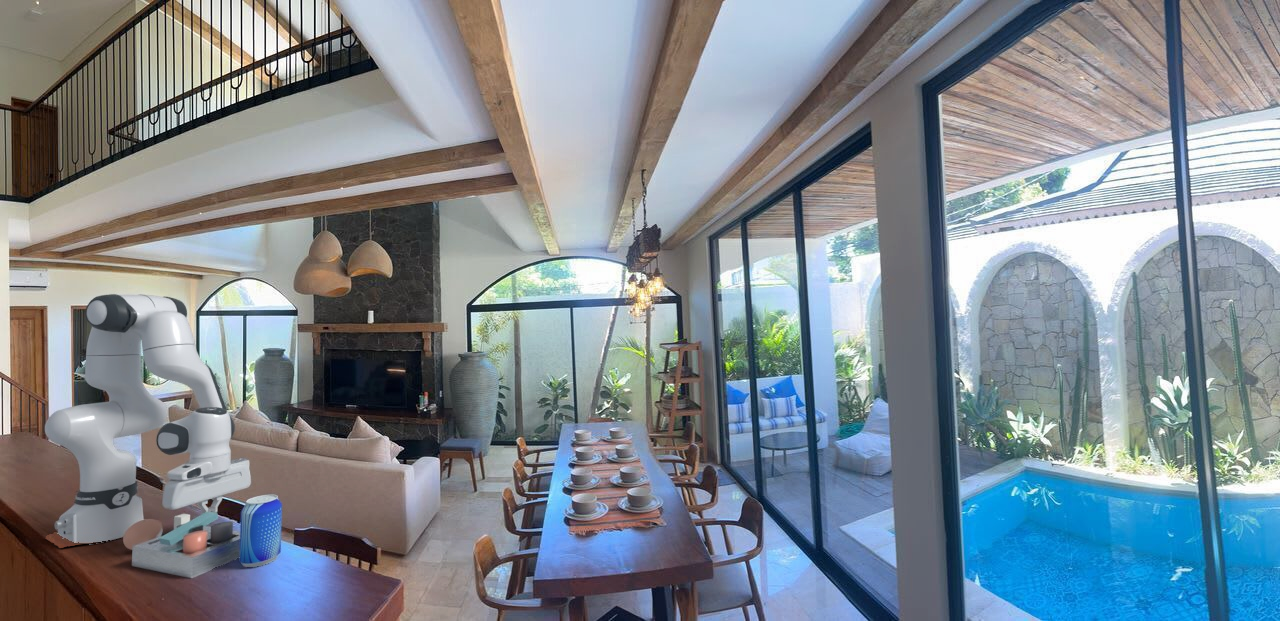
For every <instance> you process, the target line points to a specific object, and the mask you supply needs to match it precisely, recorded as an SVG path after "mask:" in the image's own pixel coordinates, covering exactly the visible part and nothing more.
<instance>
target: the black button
mask: <svg viewBox="0 0 1280 621" xmlns="http://www.w3.org/2000/svg"><path fill="white" fill-rule="evenodd" d="M210 527H211V539H210V543H214V544H219V543H221V542H224V541H227V540H229V539H232V537H233V528H234V522H233V521H222V522H218V523H216V524H213V525H211V526H210Z"/></svg>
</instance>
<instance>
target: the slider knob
mask: <svg viewBox="0 0 1280 621" xmlns="http://www.w3.org/2000/svg"><path fill="white" fill-rule="evenodd" d="M173 518H174V519H173V530H174V529H176V528H177V526H178V525H182V524H185V523H187V522H189V521H191V514H188V513H181V514H177V515H175V516H173Z"/></svg>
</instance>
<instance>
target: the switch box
mask: <svg viewBox="0 0 1280 621" xmlns="http://www.w3.org/2000/svg"><path fill="white" fill-rule="evenodd" d="M182 525H184V524H182ZM182 525H178V526H177V528H178V527H180V526H182ZM196 531H207V548H206V549H203V550H200V551H198V552H195V553H193V554H190V555H189V554H184V553H183V539H182V540H180V541H178V542H177V543H175V544H173V545H171V546H170V545H165V544H160V541H159V538H160V537H158V538H155V539H152V540H149V541H146V542H143V543H140V544H137V545H134V546H133V547H132V550H131V551H132V552H131V566H132V567H136V568H141V569H145V570H150V571H154V572H155V571H156V572H160V573H164V574H169V575H173V576H174V575H175V576H178V577H179V576H180V577H184V578H187V579H193V578H196V577H198V576H200V575H203V574H206V573H208V572H210V571H212V569H213V568H215V567H217V568H219V567H218V566H220V567H222V566H224V565H226V563H227V564H229V563H231V562H234V561H236V560H238V559H237V558H239V557H240V531H239V530H233V537H232V539H229V540H227V541H224V542H221V543H219V544H214V543H210V539H211V526H210V525H206V526H205V527H203V525H199V526H196V527H193V528H191V530H190V533H192V532H196ZM162 536H163V535H161V537H162ZM235 559H236V560H235ZM233 560H234V561H233ZM230 561H231V562H230ZM228 562H229V563H228ZM223 564H224V565H223ZM221 565H222V566H221ZM215 569H216V568H215ZM213 570H214V569H213Z"/></svg>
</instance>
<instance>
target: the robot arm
mask: <svg viewBox="0 0 1280 621" xmlns="http://www.w3.org/2000/svg"><path fill="white" fill-rule="evenodd" d="M84 312H85V313H84V314H85V318H86V322H87V323H88V324H89V325H90V327H91V329H90V333H89V335H88V339H87V344H86V350H85V351H86V353H85V367H84V368H85V369H84V370H85V371H84V380H85V381H86V383H87V384H88V385H90V387H93V388H96V389H98V390H102V391H105V392H106V393H107V395H108V398H109V399H108V400H109V401H103V402H94V403H87V404H86V403H85V404H79V405H78V404H77V405H73V406H69V407H66V408H62V409H58V410H56V411H54V412H53V413H52V414H51V415H50V416H49V417H48V418H47V420H46V422H45V424H44V434H45V435H46V437H47V439H49V440H50V442H52V443H54V444H55V445H56V444H57V445H59V446H61V447H64V448H65V449H67V450H68V451H69V452H71V453H72V454H73V456H74V457H75V459H76V460H77V463H78V467H79V490H76V491H75V493H76V494H75V498H74V504H73V505H72V506H70V508H69V509H67V510H66V511H65V512H63V513H62V514H61V515H60V516H59V518H58V520H56V521H55V522H54V529H55V530H57V531H58V533H57V534H59V535H60V536H62V537H63V538H62V539H64V538H66V539H68V540H69V541H72V542H74V543H78V542H79V543H93V542H101V543H103V542H102V541H106V542H109V541H108V540H110V541H112V540H116V539H117V540H118V539H120V538H121V539H122V538H123V537H124V534H125V532H126V531H127V529H128V528H129V527H130V526H132V525H133V524H135V523H136V522H138V521H141V520H145V519H146V518H144V509H143V499H142V498H141V497H140V496H137V494H138V490H139V485H138V481H137V479H136V477H137V458H136V456H135V455H134V453H132V452H131V451H127V450H124V449H119V448H116V446H115V444H114V439H117V438H123V437H129V436H136V435H141V434H144V433H148V432H151V431H153V430H156V429H159V428H160V429H159V430H158V432H157V434H156V440H155V441H156V446H157V448H158V450H159V451H160V452H162V453H163V454H166V455H168V456H174V455H175V456H177V455H181V454H182V455H183V454H187V453H188V454H189V460H188V461H186V462H185V463H182V464H181V465H178V466H176V467H175V468H173V469H171V470H168V471H167V473H166V479H167V482H166V483H165V485H164V487H163V492H162V503H161V504H162V507H163V508H164V509H166V510H171V511H172V510H173V511H174V510H178V509H181V508H184V507H188V506H192V505H194V504H196V506H198V508H199V510H201V514H200V515H202V514H204V513H205V512H213V513H217V514H218V507H219V505H220V504H221V502H222V500H223V496H225V495H228V494H231V493H235V492H239V491H242V490H246V489H248V488H249V487H250V486H251V485H252V479H251V478H252V476H251V470H250V460H249V459H248V458H247V457H246V458H245V457H239V458H236V459H232V458H231V457H232V449H231V447H230V441H231V440H232V438H233V436H234V435H235V431H236V424H235V422H234V420H233V418H232V416H231V415H230V412H229V411H228V408H227V407H226V404H225V402H224V398H223V395H222V393H221V390H220V387H219V384H218V381H217V380H216V376H215V374H214V372H213V370H212V368H211V367H210V366H209V365H208V364H206V363H204V361H203V360H202V358H201V357H200V355H199V352H198V351H197V347H196V344H195V342H196V341H195V338H194V333H193V331H192V328H191V325H190V323H189V321H188V319H187V317H188V309H187V307H186V304H185V303H184V302H183V301H181V300H180V299H177V298H174V297H171V296H158V295H151V294H117V293H116V294H115V293H109V294H102V295H97V296H96V297H93V298H92V299H90V301H89V302H88V303H87V305H86V307H85V311H84ZM142 355H143V361H144V365H145V367H146V368H147V370H148V371H149V372H150V373H151V374H152V375H154V376H156V377H158V378H161V379H162V380H163V379H164V380H166V381H170V382H171V381H172V382H175V383H179V384H181V385H184V386H186V387H188V388H189V389H191V390H192V392H193V393H194V396H195V399H196V400H197V401H196V402H197V404H198V407H199V408H197V409H195V410H193V411H192V412H191V414H189V415H187V416H185V417H182V418H180V419H177V420H174V421H170V422H168V423H166V421H167V419H168V414H169V410H168V407H167V405H166V404H165V403H164V402H163V401H162V400H161V399H159V398H157V397H155V396H154V395H153V394H151V393H150V392H149V391H148V390H147V388H146V386H145V384H144V383H143V379H142V370H141V368H142V366H141V360H142V358H141V357H142ZM209 500H212V503H211V505H210V506H209V507H208V506H207V505H208V503H209V502H208V501H209ZM206 504H207V505H206Z"/></svg>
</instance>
